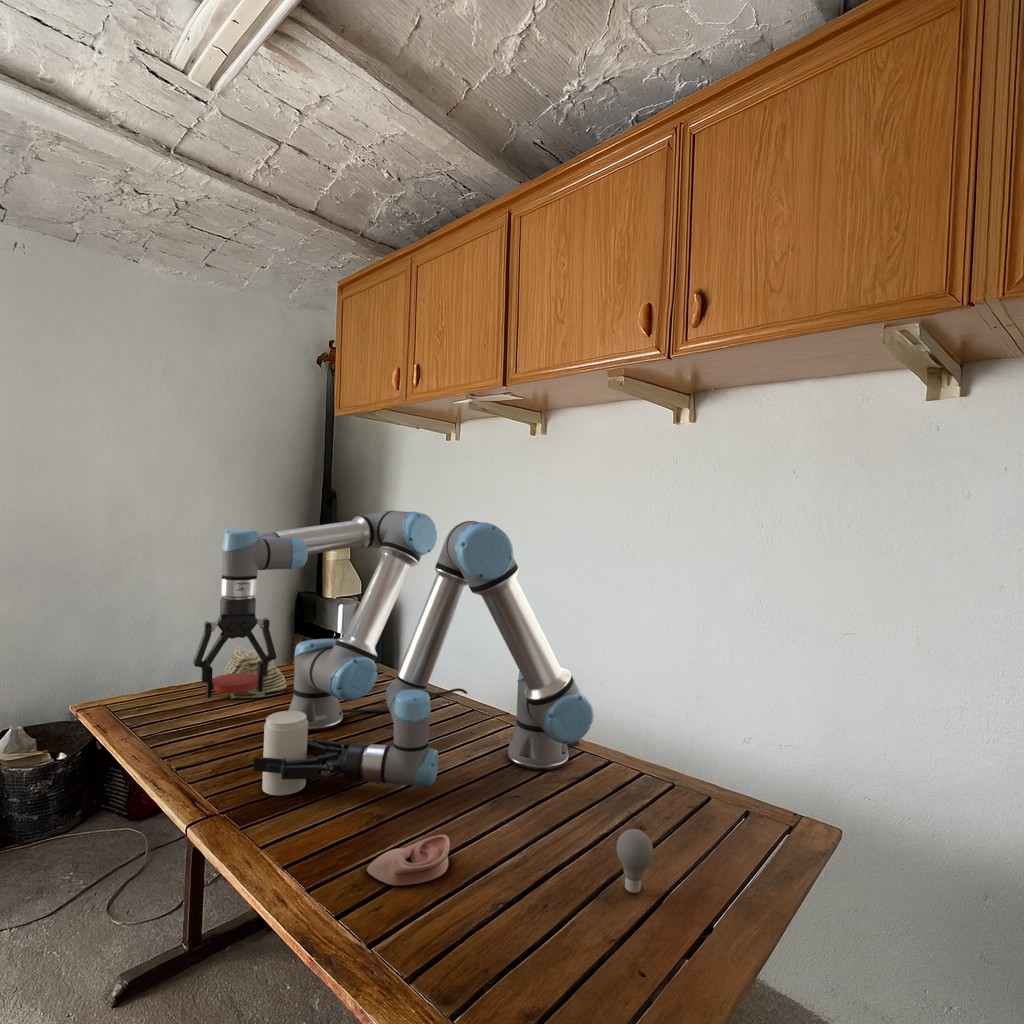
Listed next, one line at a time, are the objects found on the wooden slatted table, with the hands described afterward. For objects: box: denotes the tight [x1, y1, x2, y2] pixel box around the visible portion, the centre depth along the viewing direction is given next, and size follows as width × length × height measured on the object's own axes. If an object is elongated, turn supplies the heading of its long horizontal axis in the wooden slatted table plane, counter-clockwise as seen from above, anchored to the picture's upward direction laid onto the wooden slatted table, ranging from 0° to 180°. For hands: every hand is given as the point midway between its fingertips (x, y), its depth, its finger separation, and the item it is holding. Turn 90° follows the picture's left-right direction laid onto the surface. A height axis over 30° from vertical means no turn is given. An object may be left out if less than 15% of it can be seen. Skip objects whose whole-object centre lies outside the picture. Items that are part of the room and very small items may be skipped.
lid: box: [212, 673, 259, 694], centre depth 145 cm, size 10×10×2 cm
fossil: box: [223, 646, 288, 699], centre depth 198 cm, size 9×18×15 cm, turn 132°
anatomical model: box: [366, 834, 451, 886], centre depth 109 cm, size 13×4×12 cm
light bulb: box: [615, 828, 654, 894], centre depth 106 cm, size 6×6×10 cm
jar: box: [261, 710, 309, 796], centre depth 138 cm, size 9×9×15 cm
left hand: (234, 693), depth 145 cm, fingers closed on lid, 10 cm apart
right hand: (265, 754), depth 138 cm, fingers closed on jar, 9 cm apart
